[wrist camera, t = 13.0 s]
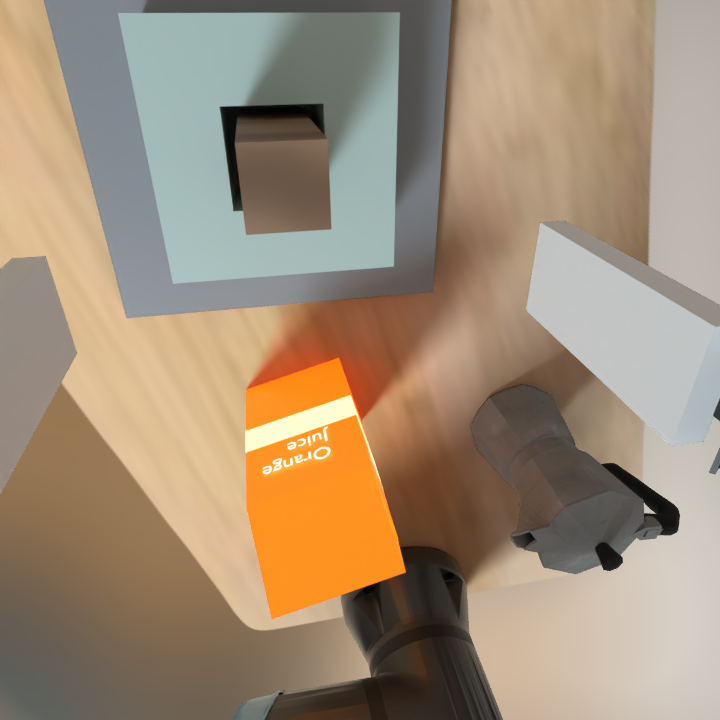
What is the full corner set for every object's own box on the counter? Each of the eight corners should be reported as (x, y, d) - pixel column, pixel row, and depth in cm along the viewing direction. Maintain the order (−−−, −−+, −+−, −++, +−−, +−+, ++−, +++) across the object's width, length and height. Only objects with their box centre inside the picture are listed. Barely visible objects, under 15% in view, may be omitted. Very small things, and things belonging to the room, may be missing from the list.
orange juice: (362, 421, 51) (420, 606, 34) (275, 451, 51) (290, 652, 34) (338, 355, 47) (392, 530, 30) (244, 388, 47) (244, 582, 30)
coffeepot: (444, 460, 56) (518, 616, 41) (458, 385, 51) (549, 529, 36) (576, 451, 59) (692, 593, 44) (601, 378, 54) (741, 510, 39)
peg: (303, 170, 37) (331, 229, 25) (245, 173, 36) (245, 235, 25) (299, 107, 35) (328, 139, 23) (238, 109, 34) (234, 142, 23)
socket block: (427, 284, 45) (459, 327, 38) (130, 309, 41) (107, 361, 35) (448, -79, 33) (502, -110, 26) (28, -89, 29) (-37, -129, 22)
